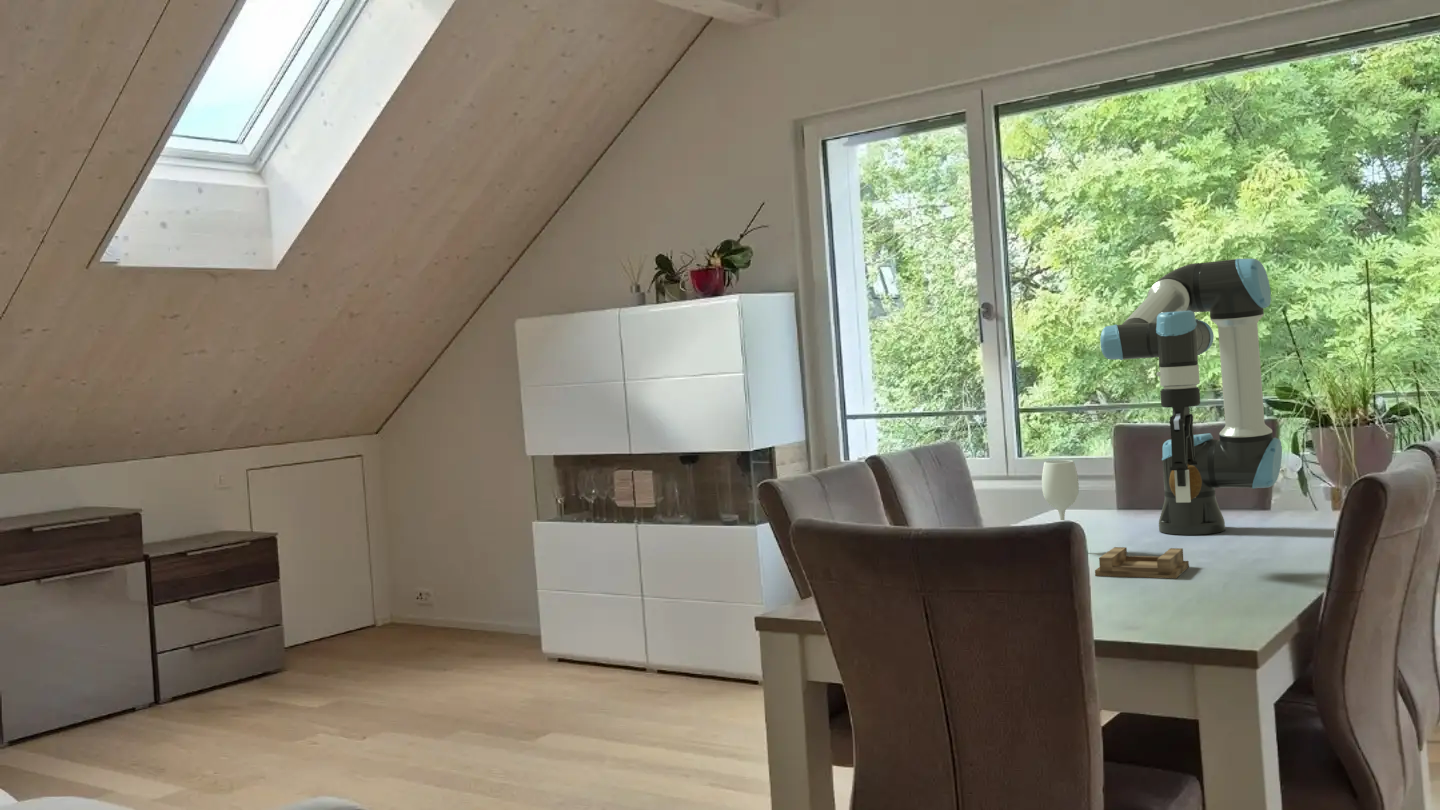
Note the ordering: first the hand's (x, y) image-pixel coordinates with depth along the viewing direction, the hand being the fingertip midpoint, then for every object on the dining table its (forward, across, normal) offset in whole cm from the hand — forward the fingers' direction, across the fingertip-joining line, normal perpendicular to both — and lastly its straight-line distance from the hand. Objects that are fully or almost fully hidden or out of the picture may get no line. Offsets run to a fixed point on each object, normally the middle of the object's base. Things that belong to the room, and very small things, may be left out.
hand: (1186, 499), depth 255 cm
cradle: (+15, +1, -9) cm, 17 cm away
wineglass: (+15, -20, -30) cm, 39 cm away
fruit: (+1, 0, 0) cm, 1 cm away
